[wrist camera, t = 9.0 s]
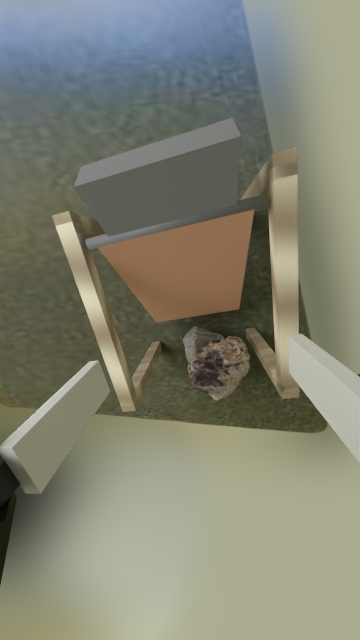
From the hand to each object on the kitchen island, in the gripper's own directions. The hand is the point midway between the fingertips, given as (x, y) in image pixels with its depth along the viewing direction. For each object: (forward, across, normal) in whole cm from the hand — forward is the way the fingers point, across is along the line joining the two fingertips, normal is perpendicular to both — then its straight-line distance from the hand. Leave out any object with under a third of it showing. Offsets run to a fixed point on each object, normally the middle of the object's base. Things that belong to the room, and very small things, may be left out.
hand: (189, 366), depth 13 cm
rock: (+12, +2, -4) cm, 12 cm away
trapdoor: (+10, 0, +8) cm, 13 cm away
